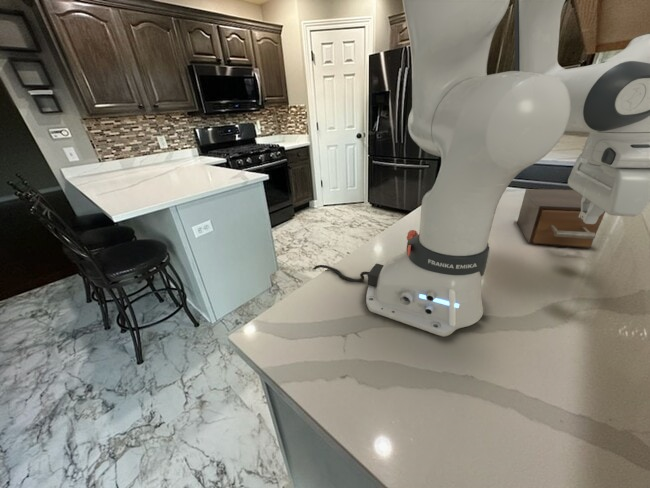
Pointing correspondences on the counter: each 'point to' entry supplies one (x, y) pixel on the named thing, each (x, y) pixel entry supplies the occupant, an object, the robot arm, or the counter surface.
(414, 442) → the counter surface
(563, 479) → the counter surface
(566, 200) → the cabinet
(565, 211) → the drawer
